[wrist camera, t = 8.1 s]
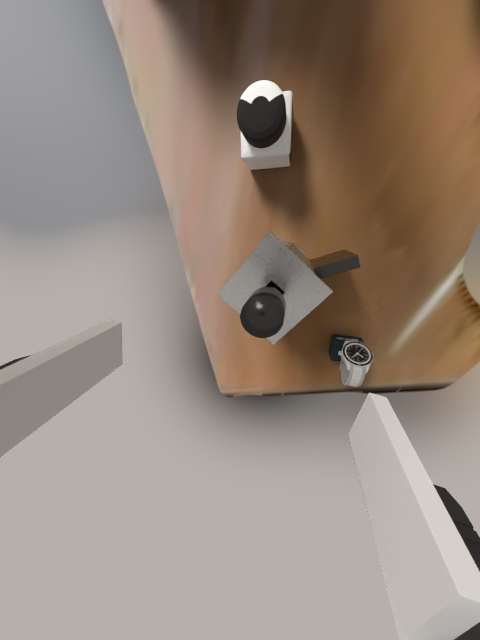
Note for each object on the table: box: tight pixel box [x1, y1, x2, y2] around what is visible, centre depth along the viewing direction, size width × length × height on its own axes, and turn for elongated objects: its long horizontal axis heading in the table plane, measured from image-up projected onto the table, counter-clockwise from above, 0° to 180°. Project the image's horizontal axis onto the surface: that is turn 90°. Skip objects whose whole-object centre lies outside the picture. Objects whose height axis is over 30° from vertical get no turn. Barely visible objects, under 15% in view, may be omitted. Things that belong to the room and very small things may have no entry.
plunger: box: [240, 280, 286, 338], centre depth 32 cm, size 9×9×23 cm
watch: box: [329, 334, 373, 387], centre depth 43 cm, size 6×8×11 cm
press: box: [218, 232, 360, 345], centre depth 37 cm, size 16×12×17 cm
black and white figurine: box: [237, 80, 293, 170], centre depth 33 cm, size 7×7×12 cm
